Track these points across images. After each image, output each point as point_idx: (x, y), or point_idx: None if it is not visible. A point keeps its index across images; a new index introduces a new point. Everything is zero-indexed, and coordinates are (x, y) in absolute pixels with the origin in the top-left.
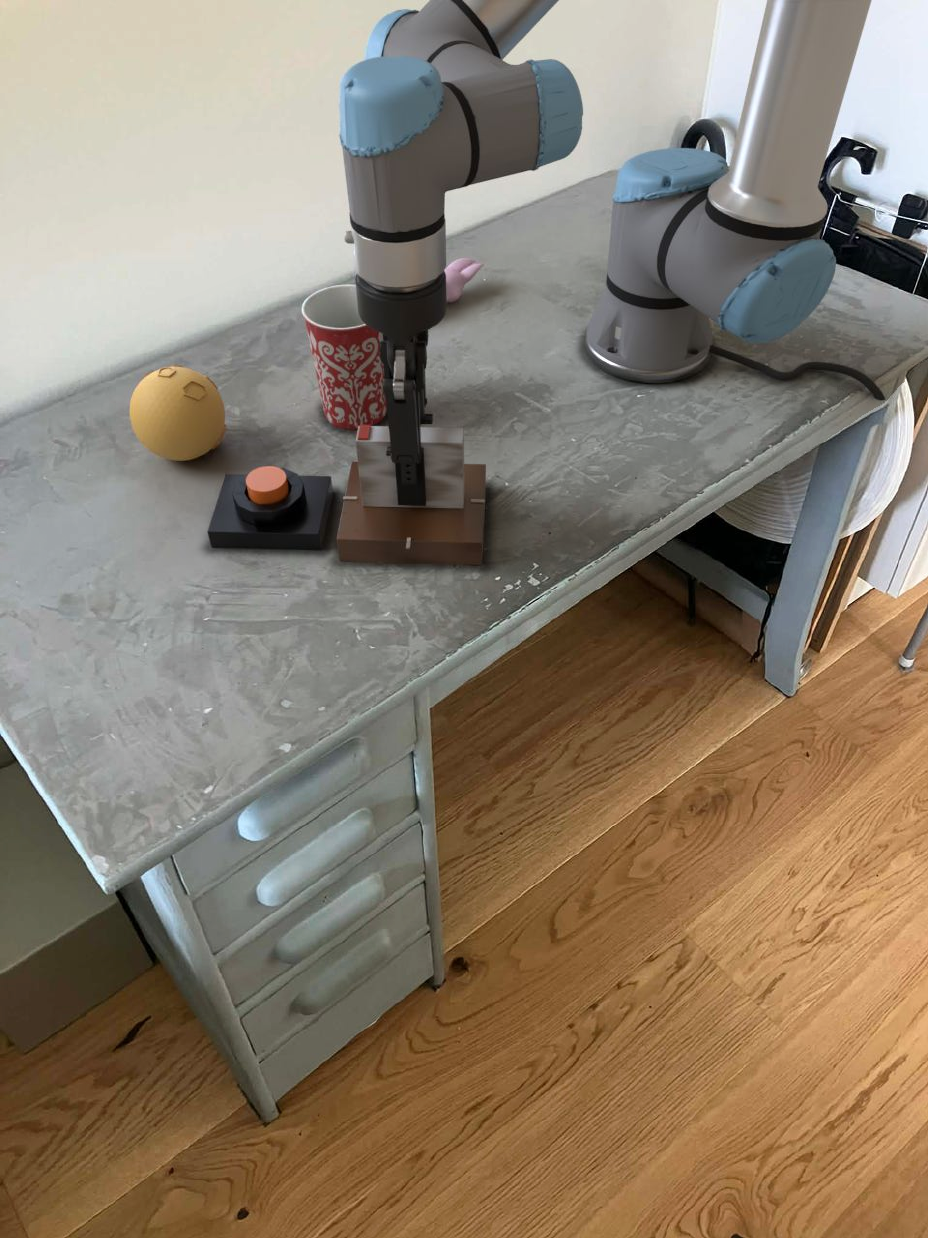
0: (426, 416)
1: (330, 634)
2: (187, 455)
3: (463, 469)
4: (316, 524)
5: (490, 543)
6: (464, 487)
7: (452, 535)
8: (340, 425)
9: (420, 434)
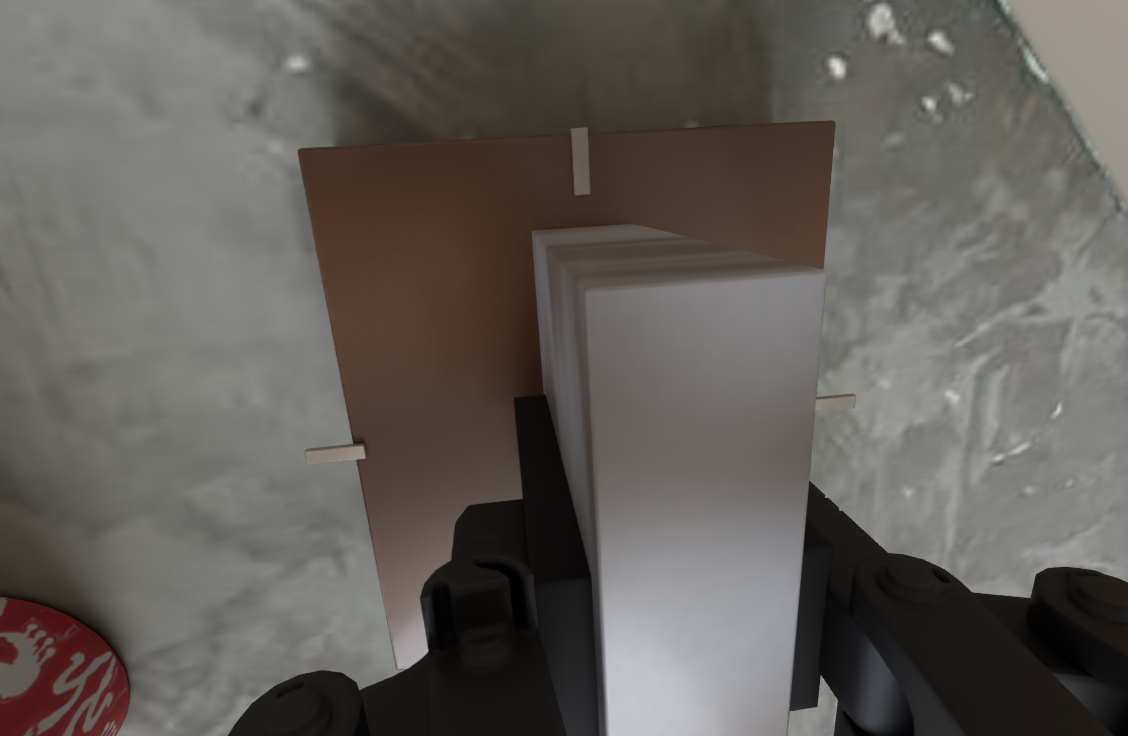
0: (464, 633)
1: (1000, 513)
2: None
3: (633, 241)
4: None
5: (662, 109)
6: (491, 235)
7: (792, 249)
8: (124, 713)
9: (975, 693)
